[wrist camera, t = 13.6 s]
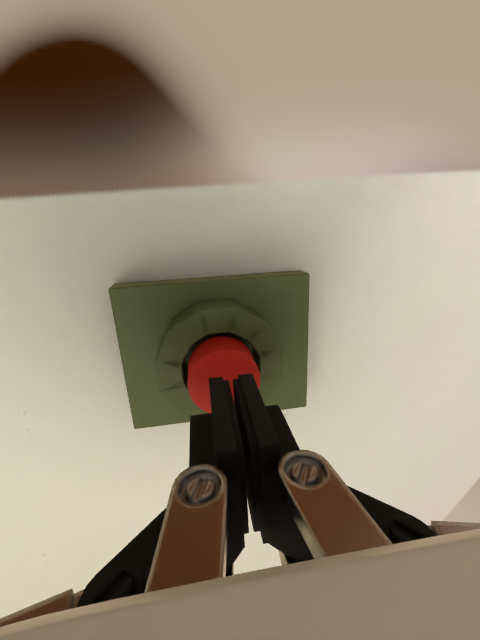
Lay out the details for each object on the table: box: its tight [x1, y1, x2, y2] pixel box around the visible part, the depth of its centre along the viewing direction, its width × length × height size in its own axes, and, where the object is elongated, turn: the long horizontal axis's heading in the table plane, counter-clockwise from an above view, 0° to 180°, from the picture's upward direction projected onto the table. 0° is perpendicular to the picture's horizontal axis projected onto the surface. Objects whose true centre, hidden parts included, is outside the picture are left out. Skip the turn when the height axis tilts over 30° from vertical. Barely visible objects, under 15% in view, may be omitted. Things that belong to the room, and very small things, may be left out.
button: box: [188, 336, 260, 413], centre depth 14 cm, size 3×3×2 cm
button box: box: [109, 271, 309, 429], centre depth 16 cm, size 10×8×3 cm
